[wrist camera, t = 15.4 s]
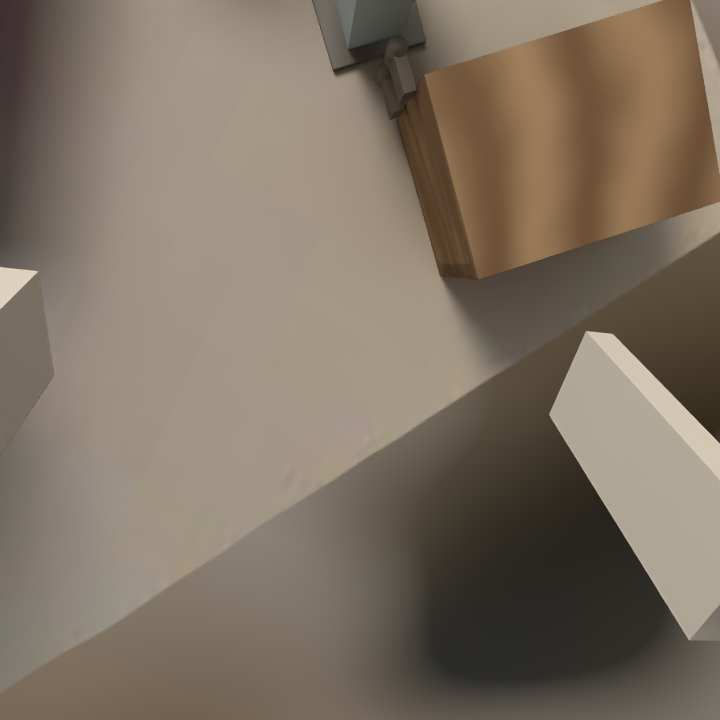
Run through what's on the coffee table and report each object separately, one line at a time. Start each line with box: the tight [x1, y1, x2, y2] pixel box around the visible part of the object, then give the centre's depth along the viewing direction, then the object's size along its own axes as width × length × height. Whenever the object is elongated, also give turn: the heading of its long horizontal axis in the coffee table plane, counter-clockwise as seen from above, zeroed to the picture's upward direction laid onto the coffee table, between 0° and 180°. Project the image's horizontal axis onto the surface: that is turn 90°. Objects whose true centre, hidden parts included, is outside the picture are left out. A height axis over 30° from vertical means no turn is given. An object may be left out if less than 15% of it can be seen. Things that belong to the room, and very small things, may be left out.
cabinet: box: [312, 0, 720, 280], centre depth 35 cm, size 20×26×10 cm
